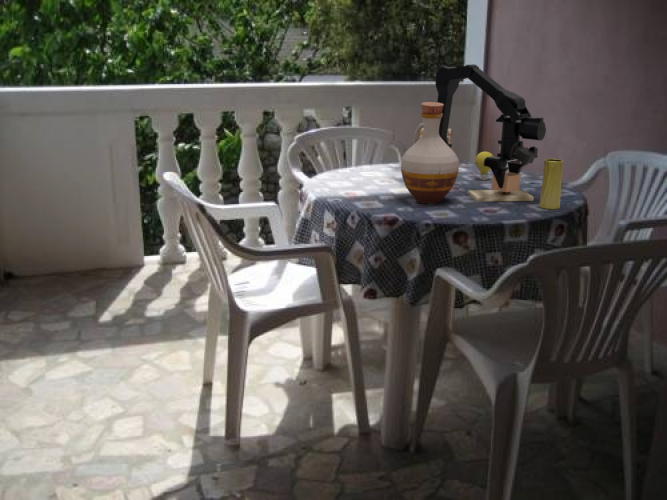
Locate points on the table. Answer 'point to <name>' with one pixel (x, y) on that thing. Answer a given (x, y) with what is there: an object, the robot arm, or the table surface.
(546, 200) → the vase
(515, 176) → the orange block
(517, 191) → the base board
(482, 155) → the light bulb
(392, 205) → the table surface
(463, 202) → the table surface
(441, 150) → the jug
